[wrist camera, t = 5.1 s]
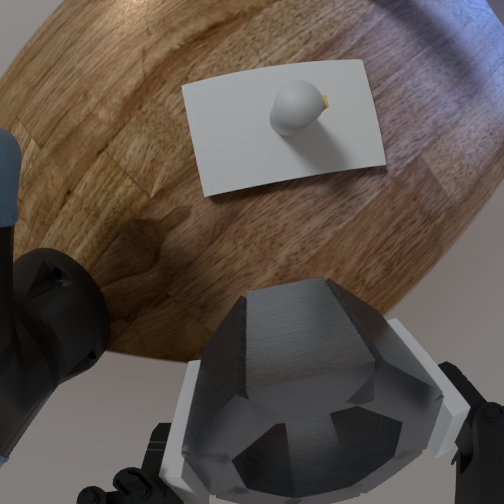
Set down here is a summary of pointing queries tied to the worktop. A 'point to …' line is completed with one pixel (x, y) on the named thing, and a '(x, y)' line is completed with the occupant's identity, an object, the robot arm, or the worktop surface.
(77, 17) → the worktop surface
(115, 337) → the worktop surface
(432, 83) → the worktop surface
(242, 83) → the shaft stand
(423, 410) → the ring
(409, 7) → the worktop surface
